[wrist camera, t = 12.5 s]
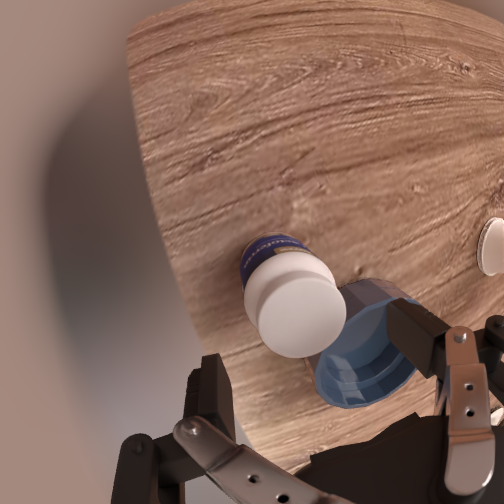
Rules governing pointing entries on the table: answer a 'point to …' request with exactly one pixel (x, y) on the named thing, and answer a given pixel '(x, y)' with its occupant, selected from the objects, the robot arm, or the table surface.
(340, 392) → the bowl
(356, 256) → the table surface
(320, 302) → the pill bottle
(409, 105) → the table surface
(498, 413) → the plate
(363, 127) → the table surface
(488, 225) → the vase
